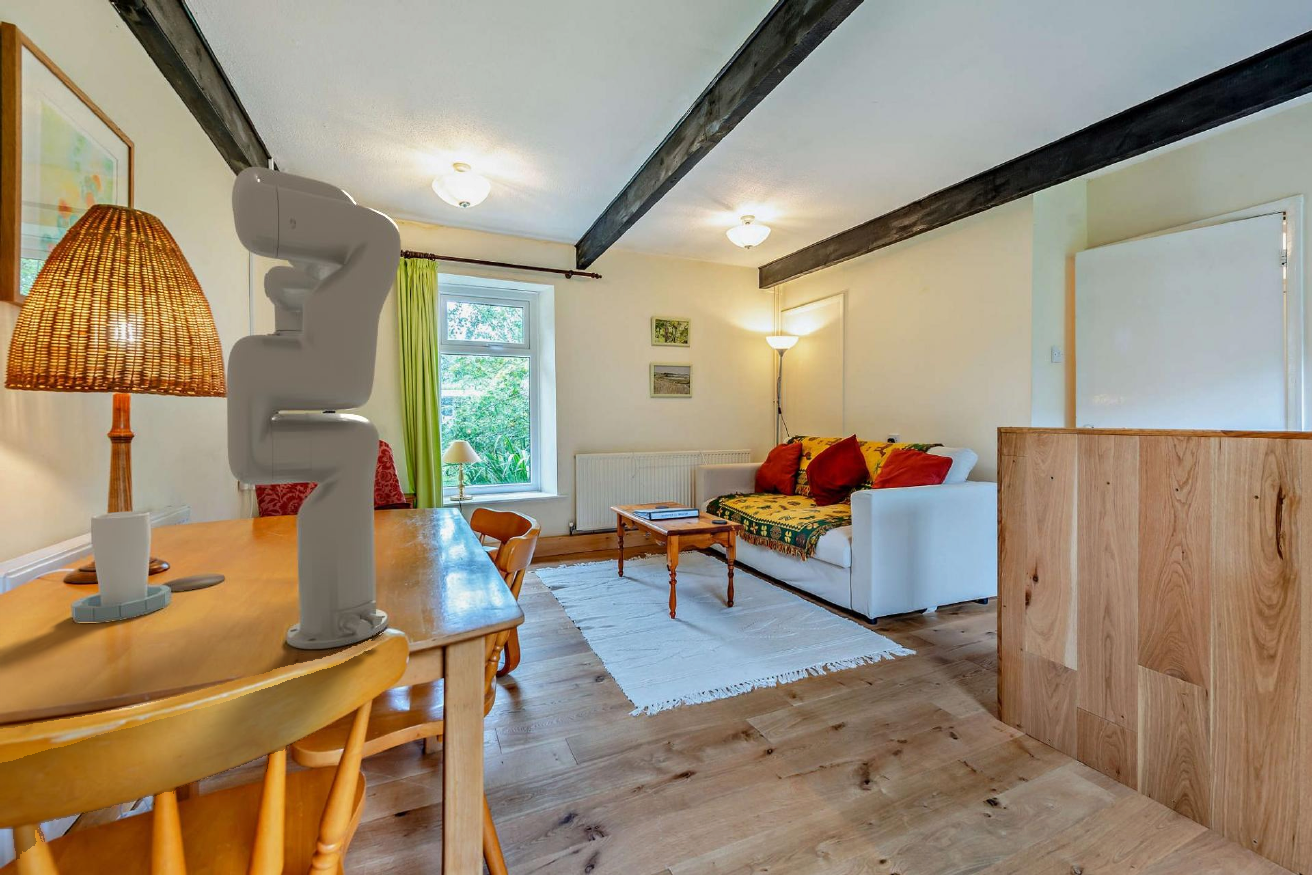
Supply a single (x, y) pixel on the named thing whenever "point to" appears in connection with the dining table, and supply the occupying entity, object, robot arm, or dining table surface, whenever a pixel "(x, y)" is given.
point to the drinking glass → (121, 555)
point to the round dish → (120, 606)
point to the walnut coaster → (195, 582)
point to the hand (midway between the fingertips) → (302, 431)
